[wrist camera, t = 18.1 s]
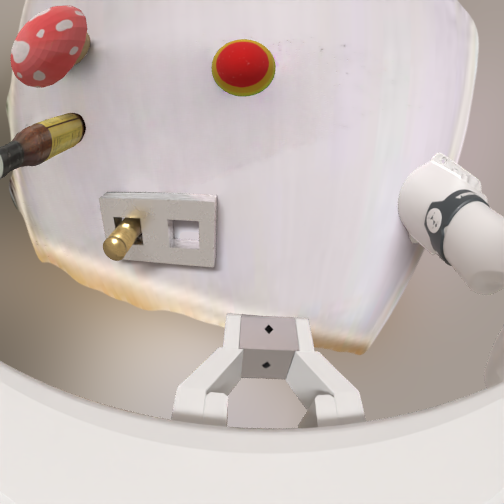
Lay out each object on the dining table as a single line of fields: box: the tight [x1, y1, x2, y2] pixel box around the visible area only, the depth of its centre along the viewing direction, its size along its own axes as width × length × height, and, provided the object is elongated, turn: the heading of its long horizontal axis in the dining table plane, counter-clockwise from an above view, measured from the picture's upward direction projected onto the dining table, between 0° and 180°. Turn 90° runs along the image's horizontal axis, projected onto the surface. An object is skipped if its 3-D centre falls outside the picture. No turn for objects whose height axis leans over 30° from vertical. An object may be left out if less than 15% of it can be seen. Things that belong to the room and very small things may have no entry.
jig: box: [99, 192, 217, 267], centre depth 45 cm, size 20×12×3 cm, turn 85°
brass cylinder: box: [103, 217, 142, 261], centre depth 42 cm, size 4×4×9 cm
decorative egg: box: [212, 39, 275, 96], centre depth 28 cm, size 8×8×10 cm
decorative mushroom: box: [11, 6, 90, 87], centre depth 22 cm, size 13×13×15 cm
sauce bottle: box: [0, 113, 86, 179], centre depth 27 cm, size 7×6×20 cm
